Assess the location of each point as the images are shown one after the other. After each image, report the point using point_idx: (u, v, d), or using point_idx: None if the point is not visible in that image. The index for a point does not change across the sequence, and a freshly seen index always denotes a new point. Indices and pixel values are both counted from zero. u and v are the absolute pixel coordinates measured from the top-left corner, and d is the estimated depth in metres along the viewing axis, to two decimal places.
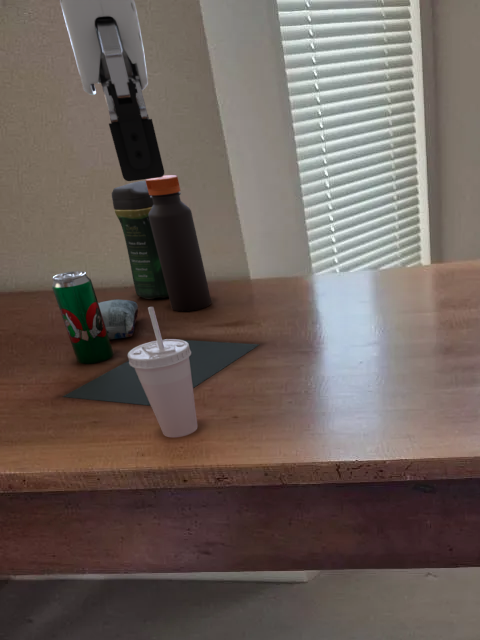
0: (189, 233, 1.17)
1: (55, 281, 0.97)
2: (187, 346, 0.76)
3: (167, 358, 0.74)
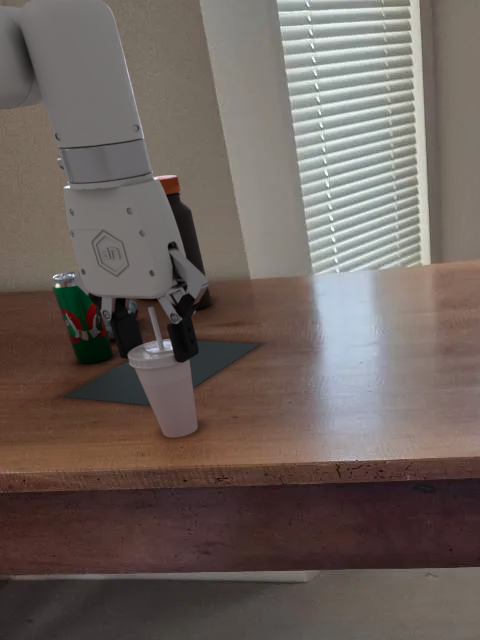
0: (189, 233, 1.17)
1: (55, 281, 0.97)
2: None
3: (167, 358, 0.74)
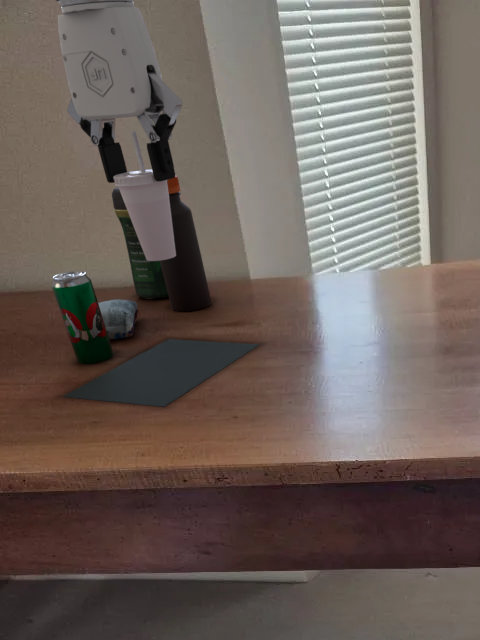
0: (189, 233, 1.17)
1: (55, 281, 0.97)
2: None
3: (147, 177, 0.85)
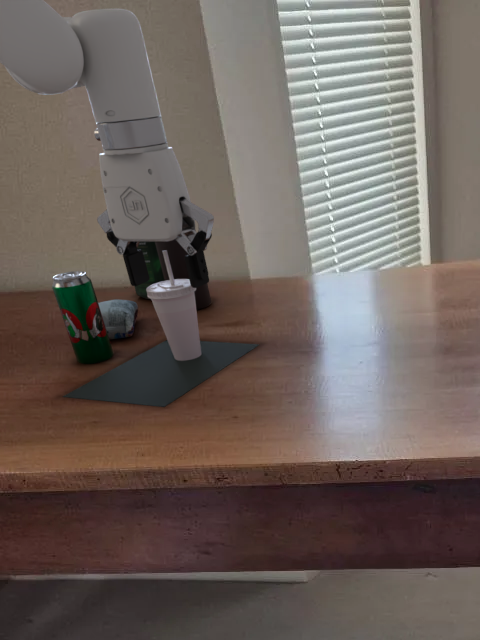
0: None
1: (55, 281, 0.97)
2: None
3: (177, 291, 0.94)
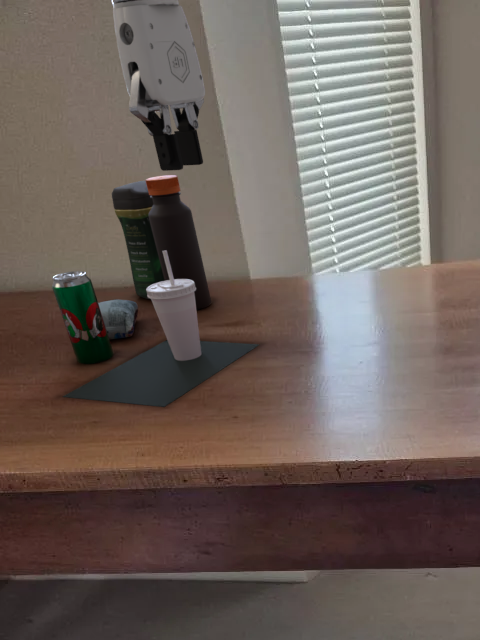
0: (189, 233, 1.17)
1: (55, 281, 0.97)
2: (193, 283, 0.96)
3: (177, 291, 0.94)
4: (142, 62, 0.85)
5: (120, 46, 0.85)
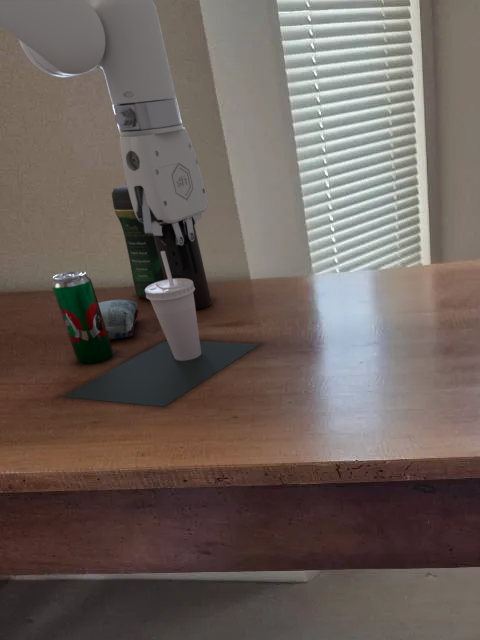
0: None
1: (55, 281, 0.97)
2: (191, 283, 0.96)
3: (176, 292, 0.94)
4: (148, 186, 0.88)
5: (127, 171, 0.88)
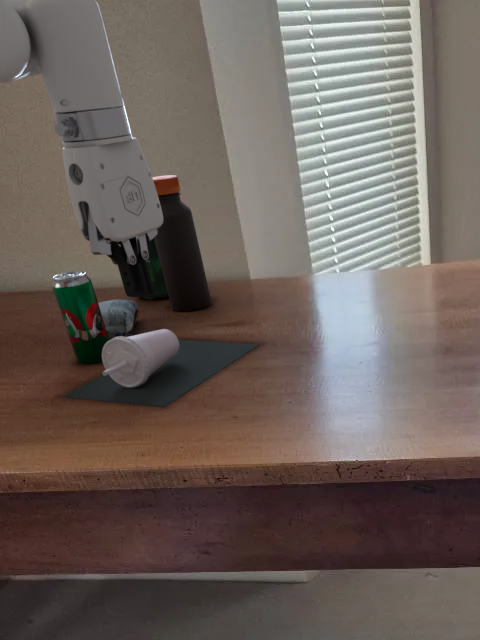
0: (189, 233, 1.17)
1: (55, 281, 0.97)
2: (133, 346, 0.89)
3: (145, 370, 0.91)
4: (93, 202, 0.81)
5: (70, 185, 0.81)
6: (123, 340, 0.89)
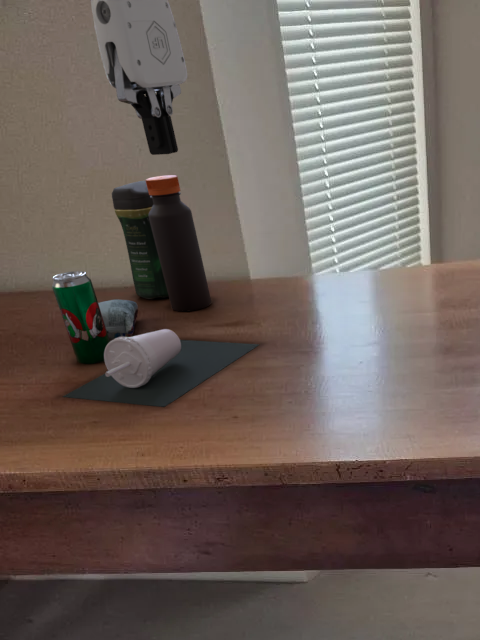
0: (189, 233, 1.17)
1: (55, 281, 0.97)
2: (137, 348, 0.89)
3: (147, 372, 0.91)
4: (120, 42, 0.81)
5: (97, 25, 0.81)
6: (128, 341, 0.89)
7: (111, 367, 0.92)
